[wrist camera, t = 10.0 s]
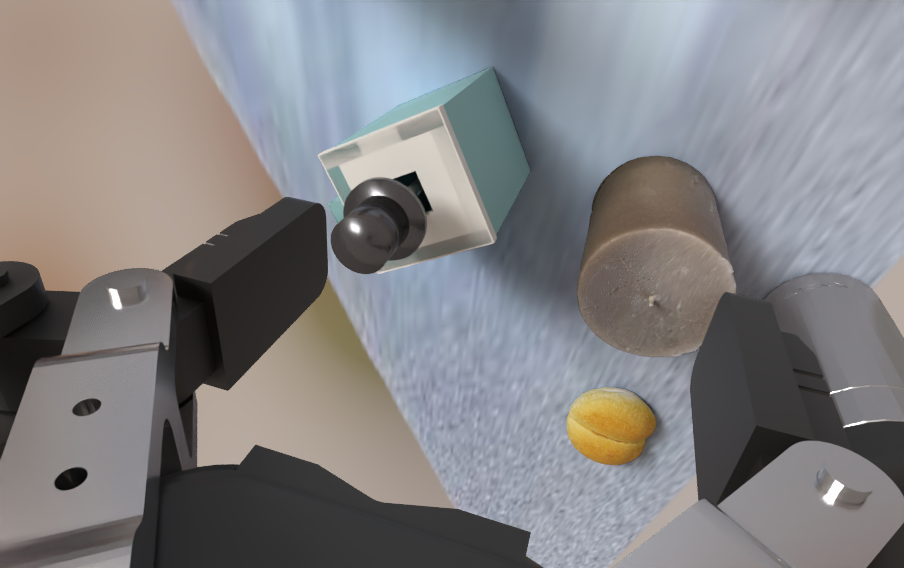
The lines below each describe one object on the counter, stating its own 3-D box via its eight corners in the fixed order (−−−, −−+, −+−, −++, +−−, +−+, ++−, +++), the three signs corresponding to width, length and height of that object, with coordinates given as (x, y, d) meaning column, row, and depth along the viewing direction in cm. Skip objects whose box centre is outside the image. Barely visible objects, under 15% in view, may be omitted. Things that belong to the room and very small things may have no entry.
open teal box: (532, 171, 49) (494, 243, 37) (418, 207, 54) (353, 280, 42) (493, 64, 45) (438, 107, 34) (375, 113, 50) (292, 165, 39)
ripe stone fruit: (666, 399, 57) (667, 428, 53) (632, 457, 62) (631, 487, 58) (585, 370, 58) (581, 396, 54) (558, 430, 63) (552, 457, 59)
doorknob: (499, 172, 46) (427, 281, 32) (435, 193, 49) (340, 302, 34) (471, 101, 44) (380, 181, 29) (406, 126, 47) (291, 212, 32)
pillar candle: (569, 200, 49) (541, 290, 37) (671, 128, 44) (678, 206, 32) (637, 282, 51) (632, 393, 39) (742, 222, 46) (775, 329, 34)
